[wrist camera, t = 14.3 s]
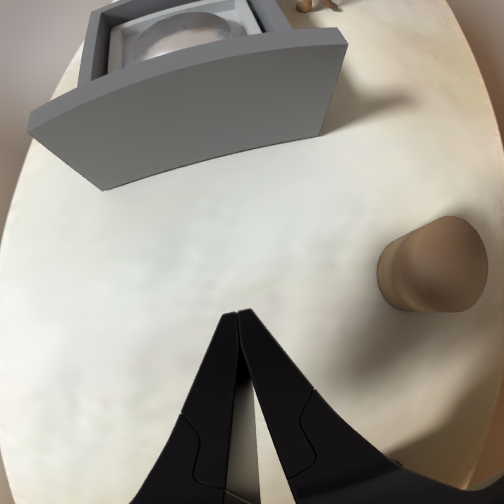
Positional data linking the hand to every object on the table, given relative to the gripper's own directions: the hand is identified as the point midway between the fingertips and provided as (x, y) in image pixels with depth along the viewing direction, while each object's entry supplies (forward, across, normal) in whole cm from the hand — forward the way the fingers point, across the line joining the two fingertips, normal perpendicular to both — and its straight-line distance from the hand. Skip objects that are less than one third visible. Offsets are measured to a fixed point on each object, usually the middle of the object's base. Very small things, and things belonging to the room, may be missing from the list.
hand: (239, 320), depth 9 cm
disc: (+17, +1, -8) cm, 19 cm away
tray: (+17, +1, -7) cm, 18 cm away
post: (+6, -10, +6) cm, 12 cm away
